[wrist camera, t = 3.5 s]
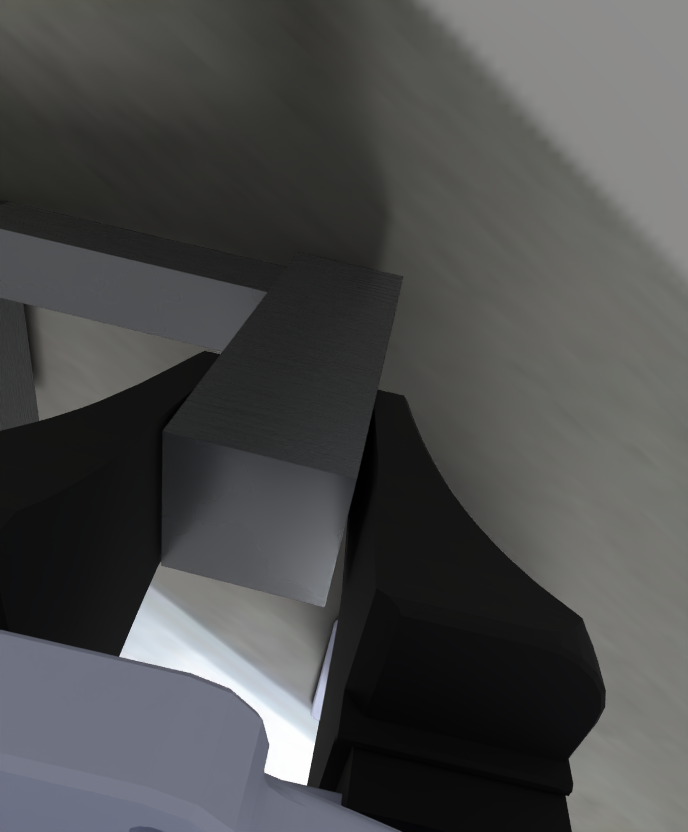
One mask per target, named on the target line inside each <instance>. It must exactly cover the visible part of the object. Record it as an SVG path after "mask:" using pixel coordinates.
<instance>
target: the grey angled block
mask: <svg viewBox="0 0 688 832" xmlns="http://www.w3.org/2000/svg"><path fill="white" fill-rule="evenodd" d="M402 280H403V276H398V275H394V274H390V273H385V272H381V271H377V270H373V269H368V268H364V267H360V266H356V265H351V264H347V263H343V262H338V261H334V260H330V259H326V258H321V257H317V256H313V255H309V254H304V253H300V252H298V253H297V254H296V255H295V257H294V258H293V259H292V261H291V262H290V263H289V265H288V266H287V267H284V266H280V265H276V264H271V263H267V262H263V261H259V260H254V259H250V258H246V257H242V256H237V255H233V254H229V253H225V252H220V251H216V250H212V249H208V248H203V247H199V246H195V245H191V244H186V243H182V242H178V241H174V240H169V239H165V238H161V237H157V236H152V235H148V234H144V233H140V232H135V231H131V230H127V229H123V228H118V227H114V226H110V225H106V224H101V223H97V222H93V221H89V220H84V219H80V218H76V217H72V216H67V215H63V214H59V213H55V212H50V211H46V210H42V209H38V208H33V207H29V206H25V205H21V204H16V203H12V202H8V201H4V200H0V431H1V430H5V429H9V428H13V427H17V426H21V425H25V424H29V423H33V422H37V421H39V416H38V409H37V401H36V394H35V386H34V379H33V372H32V364H31V357H30V350H29V342H28V335H27V328H26V320H25V313H24V305H23V303H24V304H28V305H33V306H37V307H41V308H45V309H49V310H53V311H57V312H62V313H66V314H70V315H74V316H78V317H82V318H86V319H91V320H95V321H99V322H103V323H107V324H111V325H115V326H120V327H124V328H128V329H132V330H136V331H140V332H144V333H149V334H153V335H157V336H161V337H165V338H169V339H173V340H178V341H182V342H186V343H190V344H194V345H198V346H202V347H207V348H211V349H215V350H219V351H223V352H222V353H221V354H220V356H219V357H218V358H217V360H216V361H215V362H214V364H213V365H212V366H211V368H210V369H209V370H208V372H207V373H206V374H205V376H204V377H203V378H202V379H201V381H200V382H199V383H198V385H197V386H196V387H195V389H194V390H193V391H192V393H191V394H190V395H189V397H188V398H187V399H186V401H185V402H184V403H183V405H182V406H181V407H180V409H179V410H178V411H177V413H176V414H175V415H174V416H173V418H172V419H171V420H170V422H169V423H168V424H167V426H166V427H165V428H164V430H163V434H162V555H161V566H165V567H169V568H173V569H177V570H181V571H184V572H188V573H192V574H196V575H200V576H204V577H208V578H212V579H216V580H220V581H224V582H227V583H231V584H235V585H239V586H243V587H247V588H251V589H255V590H259V591H263V592H266V593H270V594H274V595H278V596H282V597H286V598H290V599H294V600H298V601H302V602H306V603H309V604H313V605H317V606H321V607H325V604H326V600H327V596H328V592H329V588H330V584H331V580H332V576H333V572H334V568H335V564H336V560H337V556H338V552H339V548H340V544H341V540H342V537H343V533H344V529H345V525H346V521H347V517H348V513H349V509H350V505H351V501H352V497H353V493H354V489H355V485H356V481H357V477H358V472H359V468H360V464H361V459H362V455H363V451H364V446H365V442H366V437H367V433H368V429H369V424H370V420H371V416H372V411H373V407H374V402H375V398H376V394H377V389H378V385H379V381H380V376H381V372H382V367H383V363H384V359H385V354H386V350H387V346H388V341H389V337H390V332H391V328H392V324H393V319H394V315H395V311H396V306H397V302H398V297H399V293H400V289H401V284H402Z"/></svg>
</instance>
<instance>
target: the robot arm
mask: <svg viewBox="0 0 688 832" xmlns="http://www.w3.org/2000/svg"><path fill="white" fill-rule="evenodd" d="M219 356H220V354H216V353H212V352H207V351H204V352H201V353H199V354H197V355H195V356H193V357H191V358H189V359H187V360H185V361H183V362H181V363H179V364H178V365H176V366H174V367H172V368H170V369H168V370H166V371H164V372H162V373H160V374H158V375H156V376H154V377H152V378H150V379H148V380H146V381H144V382H142V383H140V384H138V385H136V386H133V387H131V388H129V389H126V390H124V391H122V392H120V393H117V394H115V395H113V396H110V397H108V398H106V399H104V400H101V401H99V402H96V403H94V404H91V405H88V406H85V407H83V408H80V409H77V410H74V411H71V412H68V413H65V414H62V415H59V416H55V417H52V418H49V419H45V420H41V421H37V422H33V423H29V424H25V425H21V426H17V427H13V428H9V429H5V430H1V431H0V832H572V831H571V825H570V819H569V813H568V808H567V802H566V796H565V795H567V796H569V795H570V793H571V792H572V789H573V780H572V775H571V770H570V764H569V757H570V756H571V755H572V754H573V752H574V751H575V750H576V749H577V747H578V746H579V745H580V743H581V742H582V741H583V740H584V738H585V737H586V736H587V734H588V733H589V732H590V731H591V729H592V728H593V727H594V726H595V724H596V723H597V722H598V720H599V718H600V716H601V714H602V712H603V710H604V708H605V694H606V690H605V686H604V683H603V679H602V675H601V671H600V667H599V663H598V660H597V657H596V654H595V651H594V648H593V645H592V642H591V640H590V637H589V635H588V632H587V630H586V627H585V624H584V621H583V619H582V618H581V617H580V616H579V615H577V614H576V613H575V612H573V611H572V610H571V609H570V608H568V607H567V606H566V605H564V604H563V603H562V602H560V601H559V600H558V599H557V598H555V597H554V596H553V595H551V594H550V593H549V592H547V591H546V590H545V589H543V588H542V587H541V586H540V585H538V584H537V583H536V582H535V581H534V580H532V579H531V578H530V577H529V576H528V575H527V574H526V573H525V572H524V571H522V570H521V569H520V568H519V567H518V566H517V565H516V564H515V563H513V562H512V561H511V560H510V559H509V558H508V557H507V556H506V555H505V554H504V553H503V552H502V551H501V550H500V549H499V548H498V547H497V546H496V545H495V544H494V543H493V542H492V541H491V540H490V538H489V537H488V536H487V535H486V534H485V533H484V532H483V531H482V530H481V529H480V528H479V527H478V525H477V524H476V523H475V522H474V521H473V519H472V518H471V517H470V516H469V515H468V513H467V512H466V511H465V510H464V508H463V507H462V506H461V504H460V503H459V502H458V500H457V499H456V498H455V496H454V495H453V493H452V492H451V490H450V489H449V487H448V486H447V484H446V483H445V481H444V479H443V478H442V476H441V474H440V472H439V471H438V469H437V467H436V465H435V464H434V462H433V460H432V458H431V456H430V454H429V452H428V450H427V448H426V446H425V444H424V442H423V440H422V438H421V436H420V433H419V431H418V429H417V426H416V424H415V422H414V419H413V416H412V414H411V411H410V408H409V405H408V402H407V400H406V398H405V397H404V396H403V395H399V394H394V393H390V392H385V391H381V390H377V394H376V398H375V402H374V407H373V411H372V416H371V420H370V424H369V429H368V433H367V437H366V442H365V446H364V451H363V455H362V459H361V464H360V468H359V472H358V477H357V481H356V485H355V489H354V493H353V497H352V501H351V505H350V509H349V513H348V521H347V534H346V547H345V560H344V573H343V586H342V596H341V604H340V612H339V617H338V620H336V621H335V623H334V626H333V630H332V634H331V637H330V641H329V645H328V649H327V652H326V656H325V660H324V663H323V667H322V671H321V675H320V678H319V682H318V686H317V689H316V693H315V697H314V701H313V704H312V708H311V716H312V717H313V718H314V719H316V720H318V721H319V726H318V731H317V736H316V742H315V747H314V752H313V758H312V763H311V768H310V773H309V778H308V783H307V786H305V785H301V784H297V783H292V782H288V781H284V780H280V779H278V778H276V777H273V776H271V775H269V774H266V773H264V768H265V763H266V758H267V754H268V749H269V742H268V739H267V735H266V731H265V727H264V724H263V720H262V718H261V717H260V716H259V714H258V713H257V712H256V711H255V710H254V709H253V708H252V707H251V706H249V705H248V704H247V703H246V702H245V701H244V700H243V699H241V698H240V697H239V696H238V695H237V694H236V693H234V692H233V691H232V690H231V689H229V688H227V687H224V686H222V685H219V684H217V683H214V682H212V681H209V680H206V679H204V678H201V677H199V676H196V675H194V674H191V673H187V672H183V671H178V670H174V669H169V668H165V667H161V666H156V665H152V664H148V663H143V662H139V661H135V660H130V659H126V658H121V657H119V655H120V653H121V651H122V648H123V646H124V643H125V641H126V639H127V636H128V634H129V632H130V629H131V627H132V624H133V622H134V620H135V617H136V615H137V612H138V610H139V608H140V606H141V603H142V601H143V599H144V596H145V594H146V592H147V590H148V587H149V585H150V583H151V581H152V578H153V576H154V574H155V572H156V569H157V567H158V565H159V564H160V562H161V555H162V434H163V430H164V428H165V427H166V426H167V424H168V423H169V422H170V420H171V419H172V418H173V416H174V415H175V414H176V413H177V411H178V410H179V409H180V407H181V406H182V405H183V403H184V402H185V401H186V399H187V398H188V397H189V395H190V394H191V393H192V391H193V390H194V389H195V387H196V386H197V385H198V383H199V382H200V381H201V379H202V378H203V377H204V376H205V374H206V373H207V372H208V370H209V369H210V368H211V366H212V365H213V364H214V362H215V361H216V360H217V358H218V357H219Z"/></svg>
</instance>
